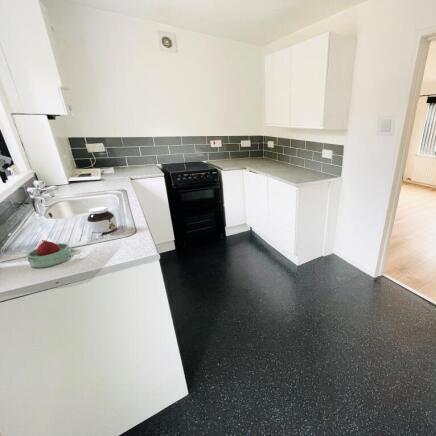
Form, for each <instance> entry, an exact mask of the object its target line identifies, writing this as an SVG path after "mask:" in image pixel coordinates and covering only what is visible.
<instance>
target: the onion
mask: <svg viewBox="0 0 436 436" xmlns="http://www.w3.org/2000/svg"><path fill="white" fill-rule="evenodd" d="M56 244H57V243H55V242H52V241H49V240H45V239H42V240H41V243H40V244H39V245H38V246H37V248H36V249H37V253H38V255H39V256H45V255H49V254H53V253H56V252H59V251H60V250H59V247H58V245H56Z"/></svg>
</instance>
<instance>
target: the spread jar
mask: <svg viewBox="0 0 436 436" xmlns="http://www.w3.org/2000/svg"><path fill="white" fill-rule="evenodd" d="M88 212H89V215H88V216H87V218H86V223H87V226H88V229H89V231H90V232H91V233H92V234H93V233H94V234H100V236H103V235H108V234H111V233H114V231H115V230H116V229H117V227H118V226H117V220H116V217H115V214H114V213H112V212H111V211H109V210H108V207H107V206H97V207H92V208H90V209H88Z"/></svg>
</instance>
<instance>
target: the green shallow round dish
mask: <svg viewBox="0 0 436 436" xmlns="http://www.w3.org/2000/svg"><path fill="white" fill-rule="evenodd" d="M55 244H56V245H58V247H59V250H60V251H59V252H56V253H53V254H49V255H45V256H39V255H38V253H37V248H35V249H33V250H31V251H29V252H27V254H26V258H27V260H28V262H29V265H30V266H31V267H32V268H40V269H41V268H49V267H53V266H56V265H59V264H61V263H64V262H66V261H67V260H69V259H70V258H71V257H72V250H71V248H70V245H69V244H68V243H64V242H62V243H61V242H60V243H55Z"/></svg>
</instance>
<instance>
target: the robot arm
mask: <svg viewBox="0 0 436 436" xmlns="http://www.w3.org/2000/svg"><path fill="white" fill-rule="evenodd" d="M0 160H3V161H5V162H4V164H3V165H2V166H1V165H0V180H1V182H2V183H3V184H6V183H7V181H9V177H8V175H7V172H6V170H8V168H9V167H10V165H11V163H12V160H13V159H12V158H11V157H9V156H5V155H1V154H0Z"/></svg>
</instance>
